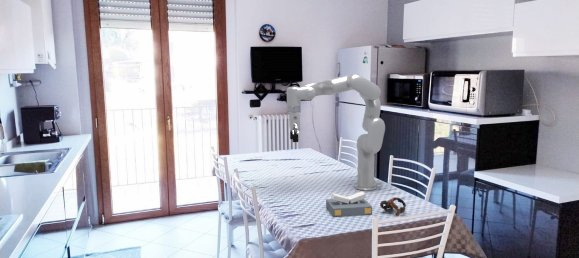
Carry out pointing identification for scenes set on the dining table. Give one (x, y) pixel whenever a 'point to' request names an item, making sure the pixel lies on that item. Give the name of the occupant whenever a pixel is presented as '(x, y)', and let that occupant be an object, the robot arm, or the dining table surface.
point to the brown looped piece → (393, 205)
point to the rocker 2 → (357, 197)
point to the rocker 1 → (340, 198)
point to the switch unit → (348, 208)
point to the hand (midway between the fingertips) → (294, 140)
